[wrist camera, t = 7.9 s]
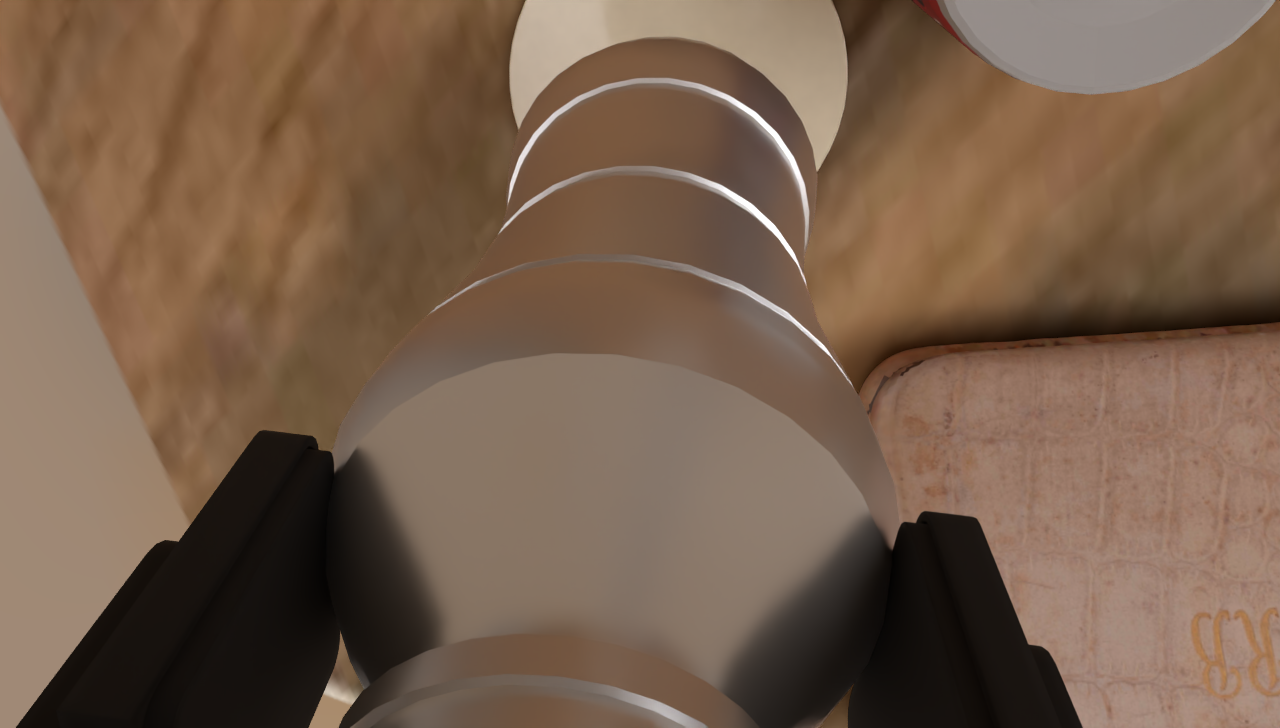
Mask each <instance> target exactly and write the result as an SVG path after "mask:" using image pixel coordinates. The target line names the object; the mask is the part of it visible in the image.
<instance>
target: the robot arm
mask: <svg viewBox="0 0 1280 728" xmlns="http://www.w3.org/2000/svg"><path fill="white" fill-rule="evenodd" d="M333 479H334V459H333V455H332V453H331V452H330V451H322V450H318V444H317V441H316V439H315V438H314V437H313V436H308V435H300V434H291V433H283V432H275V431H267V430H263V431H259V432H258V433H257V434H256V435H255V436H254V438H253V439H252V441H251V442H250V443H249V445H248V446H247V448H246V449H245V450H244V452H243V453H242V454H241V456H240V457H239V459H238V460H237V461H236V463H235V464H234V466H233V467H232V468H231V470H230V471H229V472H228V474H227V475H226V477H225V478H224V479H223V481H222V482H221V484H220V485H219V486H218V488H217V489H216V490H215V492H214V493H213V495H212V496H211V497H210V499H209V500H208V502H207V503H206V504H205V506H204V507H203V508H202V510H201V511H200V513H199V514H198V515H197V517H196V518H195V520H194V521H193V522H192V524H191V525H190V526H189V528H188V529H187V531H186V532H185V533H184V535H183V536H182V538H181V539H180V540H179V542H177V541H169V540H164V541H162V542H160V543H157V544H156V545H155V546H154V547H153V548H152V549H151V550H150V551H149V552H148V553H147V554H146V556H145V557H144V558H143V559H142V561H141V562H140V563H139V565H138V566H137V567H136V569H135V570H134V571H133V573H132V574H131V576H130V577H129V578H128V579H127V581H126V582H125V583H124V585H123V586H122V587H121V589H120V590H119V591H118V593H117V594H116V595H115V597H114V598H113V599H112V601H111V602H110V603H109V605H108V606H107V607H106V609H105V610H104V611H103V613H102V614H101V615H100V616H99V618H98V619H97V620H96V622H95V623H94V624H93V626H92V627H91V628H90V630H89V631H88V632H87V634H86V635H85V636H84V638H83V639H82V641H81V642H80V643H79V644H78V646H77V647H76V648H75V650H74V651H73V652H72V654H71V655H70V656H69V658H68V659H67V660H66V662H65V663H64V664H63V666H62V667H61V668H60V670H59V671H58V672H57V674H56V675H55V676H54V678H53V679H52V680H51V682H50V683H49V684H48V685H47V687H46V688H45V689H44V691H43V692H42V694H41V695H40V696H39V697H38V699H37V700H36V702H35V703H34V704H33V705H32V707H31V708H30V709H29V711H28V712H27V713H26V715H25V716H24V717H23V719H22V720H21V721H20V723H19V724H18V725H17V727H16V728H308V727H309V725H310V723H311V720H312V718H313V716H314V713H315V711H316V709H317V707H318V704H319V702H320V700H321V697H322V695H323V693H324V690H325V688H326V686H327V683H328V681H329V679H330V676H331V674H332V672H333V669H334V666H335V663H336V659H337V655H338V650H339V642H340V628H339V625H338V622H337V618H336V615H335V612H334V609H333V606H332V601H331V597H330V592H329V587H328V582H327V577H326V525H327V515H328V506H329V499H330V494H331V489H332V484H333ZM848 728H1083V727H1082V724H1081V722H1080V719H1079V717H1078V715H1077V712H1076V710H1075V708H1074V705H1073V703H1072V701H1071V698H1070V696H1069V694H1068V691H1067V689H1066V686H1065V684H1064V682H1063V679H1062V677H1061V675H1060V672H1059V670H1058V668H1057V665H1056V663H1055V661H1054V660H1053V658H1052V656H1051V654H1050V653H1049V651H1047V650H1046V649H1045V648H1043V647H1042V646H1036V645H1029V644H1028V642H1027V639H1026V637H1025V634H1024V632H1023V629H1022V627H1021V624H1020V622H1019V619H1018V617H1017V614H1016V612H1015V609H1014V607H1013V604H1012V602H1011V599H1010V597H1009V594H1008V592H1007V589H1006V587H1005V584H1004V582H1003V579H1002V577H1001V574H1000V572H999V569H998V567H997V564H996V562H995V559H994V557H993V554H992V552H991V549H990V547H989V544H988V542H987V539H986V537H985V534H984V532H983V529H982V527H981V525H980V523H979V521H978V519H977V518H975V517H972V516H964V515H956V514H948V513H939V512H931V511H923V512H921V514H920V515H919V517H918V519H917V521H916V523H913V522H903V523H902V524H901V525H900V527H899V530H898V533H897V536H896V540H895V543H894V547H893V550H892V569H891V576H890V583H889V590H888V597H887V604H886V611H885V618H884V623H883V626H882V629H881V632H880V634H879V637H878V639H877V642H876V645H875V647H874V650H873V652H872V655H871V658H870V660H869V663H868V664H867V665H866V667H865V668H864V669H863V671H862V672H861V674H860V675H859V676H858V678H857V679H856V681H855V682H854V686H853V689H852V693H851V697H850V701H849V709H848Z"/></svg>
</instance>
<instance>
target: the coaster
mask: <svg viewBox="0 0 1280 728" xmlns="http://www.w3.org/2000/svg"><path fill="white" fill-rule="evenodd" d="M644 37H682V38H687V39H692V40H698V41H703V42H706V43H709V44H711V45H714V46H716V47H719V48H721V49H724V50H726V51H729V52H731V53H733V54H734V55H736V56H737V57H739V58H740V59H742V60H743V61H745V62H746V63H748V64H749V65H751V66H753V67H754V68H755V69H757V70H758V71H760V72H761V73H762V74H763V75H764V76H765V77H766V78H767V79H769V80H770V81H771V82H772V83H773V84H774V85H775V86H776V87H777V88H778V89H779V90H780V91H781V92H782V93H783V94H784V95H785V96H786V98H787V99H788V101H789V102H790V104H791V105H792V107H793V108H794V110H795V111H796V113H797V114H798V116H799V117H800V119H801V120H802V122H803V125H804V127H805V130H806V133H807V135H808V138H809V140H810V143H811V145H812V148H813V153H814V159H815V165H816V171H818V170H819V168H820V167H821V165H822V163H823V161H824V160H825V158H826V156H827V154H828V153H829V151H830V149H831V147H832V144H833V142H834V139H835V137H836V134H837V132H838V130H839V126H840V123H841V119H842V115H843V112H844V108H845V101H846V94H847V87H848V59H847V51H846V43H845V37H844V33H843V30H842V26H841V22H840V18H839V15H838V13H837V11H836V8H835V6H834V3H833V1H832V0H525V3H524V5H523V8H522V10H521V13H520V16H519V18H518V21H517V24H516V28H515V32H514V36H513V40H512V45H511V54H510V63H509V89H510V96H511V103H512V109H513V113H514V117H515V121H516V124H517V128H518V131H519V128H520V126H521V123H522V121H523V119H524V117H525V116H526V114H527V112H528V111H529V109H530V107H531V106H532V104H533V102H534V101H535V99H536V97H537V96H538V95H539V94H540V93H541V92H542V91H543V90H544V89H545V88H546V87H547V86H548V85H549V83H550V82H551V81H552V80H553V79H554V78H555V77H556V76H557V75H558V74H560V73H561V72H563V71H564V70H566V69H567V68H568V67H570V66H571V65H573V64H574V63H576V62H577V61H579V60H580V59H581V58H583V57H586V56H588V55H590V54H593V53H595V52H597V51H600V50H602V49H604V48H607V47H609V46H612V45H614V44H617V43H620V42H625V41H630V40H635V39H639V38H644Z"/></svg>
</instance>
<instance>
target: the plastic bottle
mask: <svg viewBox="0 0 1280 728" xmlns="http://www.w3.org/2000/svg"><path fill="white" fill-rule="evenodd" d="M816 195H817V171H816V165H815V159H814V153H813V148H812V145H811V143H810V140H809V138H808V135H807V133H806V130H805V127H804V125H803V122H802V120H801V119H800V117H799V116H798V114H797V113H796V111H795V110H794V108H793V107H792V105H791V104H790V102H789V101H788V99H787V98H786V96H785V95H784V94H783V93H782V92H781V91H780V90H779V89H778V88H777V87H776V86H775V85H774V84H773V83H772V82H771V81H770V80H769V79H767V78H766V77H765V76H764V75H763V74H762V73H761V72H760V71H758V70H757V69H755V68H754V67H753V66H751V65H749V64H748V63H746V62H745V61H743V60H742V59H740V58H739V57H737V56H736V55H734V54H733V53H731V52H729V51H726V50H724V49H721V48H719V47H716V46H714V45H711V44H709V43H706V42H703V41H698V40H692V39H687V38H682V37H644V38H639V39H635V40H630V41H625V42H620V43H617V44H614V45H612V46H609V47H607V48H604V49H602V50H600V51H597V52H595V53H593V54H590V55H588V56H586V57H583V58H581V59H580V60H579V61H577V62H576V63H574V64H573V65H571V66H570V67H568V68H567V69H566V70H564V71H563V72H561V73H560V74H558V75H557V76H556V77H555V78H554V79H553V80H552V81H551V82H550V83H549V85H548V86H547V87H546V88H545V89H544V90H543V91H542V92H541V93H540V94H539V95H538V96H537V97H536V99H535V101H534V102H533V104H532V106H531V107H530V109H529V111H528V112H527V114H526V116H525V117H524V119H523V121H522V123H521V126H520V128H519V131H518V134H517V137H516V140H515V143H514V146H513V149H512V155H511V161H510V167H509V175H508V184H507V192H506V204H507V210H506V213H505V217H504V220H503V224H502V228H501V231H500V233H499V234H498V235H497V237H496V238H495V239H494V241H493V242H492V244H491V245H490V247H489V248H488V250H487V251H486V253H485V254H484V256H483V257H482V259H481V260H480V262H479V263H478V265H477V266H476V268H475V269H474V270H473V271H472V272H471V273H470V274H469V275H468V276H467V277H466V278H465V279H464V280H463V281H462V282H461V283H460V284H459V285H458V286H457V287H456V288H455V289H454V290H453V291H452V292H451V293H450V294H449V295H448V296H447V297H446V298H445V299H444V300H443V301H442V302H441V303H439V304H438V305H437V306H436V307H435V308H434V309H433V310H432V311H431V312H430V313H429V314H428V315H427V316H425V317H424V318H423V319H422V320H421V321H420V322H419V323H418V324H417V325H416V326H415V327H414V328H413V329H412V330H411V331H410V332H409V333H408V334H407V335H406V336H405V337H404V338H403V339H402V340H401V341H400V342H399V343H398V344H397V345H396V346H395V347H394V348H393V349H392V350H391V352H390V353H389V354H388V356H387V357H386V358H385V360H384V361H383V362H382V364H381V365H380V366H379V368H378V369H377V370H376V371H375V373H374V374H373V375H372V376H371V377H370V379H369V380H368V381H367V382H366V384H365V385H364V386H363V388H362V390H361V391H360V393H359V395H358V396H357V398H356V400H355V401H354V403H353V405H352V406H351V408H350V410H349V411H348V413H347V414H346V416H345V418H344V419H343V421H342V423H341V424H340V427H339V431H338V434H337V438H336V441H335V444H334V448H333V451H332V455H333V459H334V479H333V484H332V489H331V494H330V499H329V506H328V515H327V525H326V577H327V582H328V587H329V592H330V597H331V601H332V606H333V609H334V612H335V615H336V618H337V622H338V625H339V628H340V631H341V634H342V637H343V640H344V644H345V647H346V650H347V653H348V656H349V659H350V662H351V664H352V666H353V668H354V670H355V672H356V674H357V676H358V678H359V680H360V682H361V684H362V686H363V688H364V690H363V691H362V693H361V694H360V695H359V697H358V698H357V699H356V701H355V702H354V703H353V705H352V706H351V707H350V709H349V710H348V711H347V713H346V714H345V716H344V717H343V719H342V721H341V724H340V726H339V728H819V727H820V725H821V724H822V723H823V722H824V720H825V719H826V718H827V717H828V715H829V714H830V713H831V712H832V711H833V709H834V708H835V707H836V706H837V704H838V703H839V702H840V701H841V699H842V698H843V697H844V696H845V694H846V693H847V692H848V690H849V689H850V687H851V686H852V685H853V683H854V682H855V681H856V679H857V678H858V676H859V675H860V674H861V672H862V671H863V669H864V668H865V667H866V665H867V664H868V663H869V660H870V658H871V655H872V652H873V650H874V647H875V645H876V642H877V639H878V637H879V634H880V632H881V629H882V626H883V623H884V618H885V611H886V604H887V597H888V590H889V583H890V576H891V569H892V550H893V547H894V543H895V540H896V536H897V533H898V530H899V527H900V521H899V514H898V507H897V501H896V494H895V487H894V481H893V479H892V476H891V474H890V471H889V469H888V466H887V464H886V461H885V459H884V456H883V453H882V450H881V447H880V444H879V441H878V439H877V436H876V434H875V432H874V429H873V427H872V424H871V422H870V420H869V417H868V415H867V413H866V410H865V408H864V405H863V403H862V401H861V398H860V396H859V395H858V394H857V392H856V391H855V390H854V387H853V385H852V383H851V381H850V379H849V377H848V375H847V374H846V372H845V370H844V368H843V366H842V364H841V363H840V361H839V359H838V357H837V355H836V353H835V352H834V350H833V348H832V346H831V344H830V342H829V341H828V339H827V337H826V335H825V333H824V331H823V330H822V328H821V326H820V324H819V322H818V320H817V317H816V313H815V310H814V307H813V303H812V300H811V297H810V293H809V291H808V289H807V286H806V280H805V277H804V256H805V253H806V250H807V246H808V243H809V239H810V235H811V232H812V228H813V223H814V216H815V208H816Z"/></svg>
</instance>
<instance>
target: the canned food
mask: <svg viewBox="0 0 1280 728" xmlns="http://www.w3.org/2000/svg"><path fill="white" fill-rule="evenodd" d="M912 1H913V2H914V3H915V4H916V5H917V6H919V7H920V8H921V9H922V10H923V11H924V12H926V13H927V14H928V15H929V16H930V17H931V18H933V19H934V20H935V21H936V22H937V23H938V24H940V25H941V26H942V27H943V28H944V29H946V30H947V31H948V32H949V33H950V34H951V35H953V36H954V37H955V38H956V39H957V40H958V41H960V42H961V43H962V44H963V45H964V46H965V47H967V48H968V49H969V50H970V51H971V52H972V53H974V54H975V55H977V56H979V57H980V58H981V59H982V60H984V61H985V62H986V63H988V64H990V65H991V66H993V67H995V68H997V69H999V70H1001V71H1002V72H1004V73H1006V74H1008V75H1010V76H1011V77H1013V78H1015V79H1018V80H1022V81H1024V82H1027V83H1030V84H1034V85H1037V86H1041V87H1044V88H1047V89H1051V90H1054V91H1059V92H1070V93H1081V94H1101V93H1112V92H1122V91H1129V90H1133V89H1137V88H1140V87H1144V86H1148V85H1151V84H1155V83H1159V82H1162V81H1165V80H1167V79H1170V78H1172V77H1174V76H1176V75H1178V74H1181V73H1183V72H1185V71H1187V70H1189V69H1191V68H1194V67H1196V66H1198V65H1200V64H1202V63H1203V62H1205V61H1206V60H1208V59H1209V58H1211V57H1212V56H1214V55H1215V54H1217V53H1218V52H1220V51H1221V50H1223V49H1224V48H1226V47H1227V46H1229V45H1230V44H1232V43H1233V42H1235V41H1236V40H1237V39H1238V38H1239V37H1240V36H1241V35H1242V34H1243V33H1244V32H1245V31H1247V30H1248V29H1249V28H1250V27H1251V26H1252V25H1253V24H1254V23H1255V22H1256V21H1258V20H1259V19H1260V18H1261V17H1262V16H1263V15H1264V14H1265V13H1266V12H1267V10H1268V9H1269V8H1270V7H1271V5H1272V4H1273V3H1274V2H1275V0H912Z"/></svg>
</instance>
